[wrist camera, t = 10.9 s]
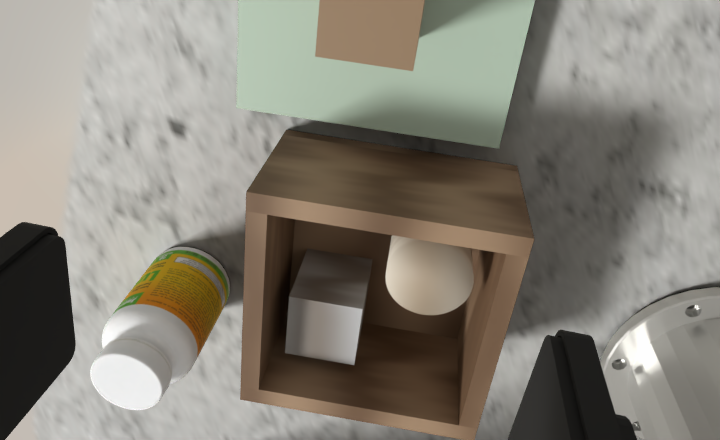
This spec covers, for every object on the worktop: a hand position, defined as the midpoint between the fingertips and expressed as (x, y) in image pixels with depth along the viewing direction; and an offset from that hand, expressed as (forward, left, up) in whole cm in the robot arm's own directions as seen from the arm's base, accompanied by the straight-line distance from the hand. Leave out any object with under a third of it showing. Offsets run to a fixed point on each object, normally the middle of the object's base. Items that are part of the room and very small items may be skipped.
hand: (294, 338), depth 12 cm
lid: (+1, -3, -23) cm, 23 cm away
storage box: (-1, +12, -23) cm, 26 cm away
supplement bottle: (+11, +17, -23) cm, 31 cm away
